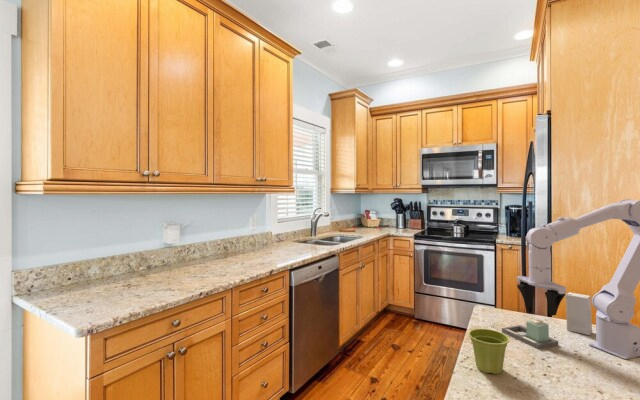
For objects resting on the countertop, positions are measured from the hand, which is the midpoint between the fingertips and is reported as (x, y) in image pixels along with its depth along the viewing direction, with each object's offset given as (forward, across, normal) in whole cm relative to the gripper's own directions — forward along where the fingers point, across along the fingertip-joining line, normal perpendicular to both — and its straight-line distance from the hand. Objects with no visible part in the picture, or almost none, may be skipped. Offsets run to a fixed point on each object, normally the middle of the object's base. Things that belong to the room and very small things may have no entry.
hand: (540, 310), depth 100 cm
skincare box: (+10, -1, +18) cm, 21 cm away
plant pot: (+10, +7, -28) cm, 30 cm away
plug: (+10, 0, -2) cm, 10 cm away
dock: (+9, -3, -2) cm, 10 cm away
